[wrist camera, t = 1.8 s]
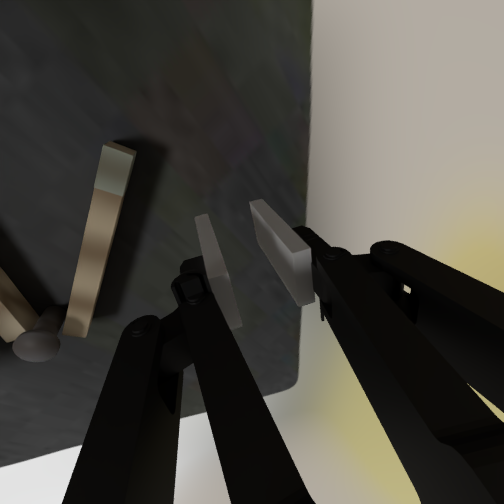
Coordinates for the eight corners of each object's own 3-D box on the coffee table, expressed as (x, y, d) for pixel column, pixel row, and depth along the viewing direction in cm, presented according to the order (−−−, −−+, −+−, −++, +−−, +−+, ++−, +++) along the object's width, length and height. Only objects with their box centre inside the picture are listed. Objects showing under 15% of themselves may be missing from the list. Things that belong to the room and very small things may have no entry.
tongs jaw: (92, 320, 35) (86, 337, 32) (69, 317, 34) (61, 335, 31) (136, 151, 28) (133, 156, 25) (109, 140, 27) (103, 144, 24)
